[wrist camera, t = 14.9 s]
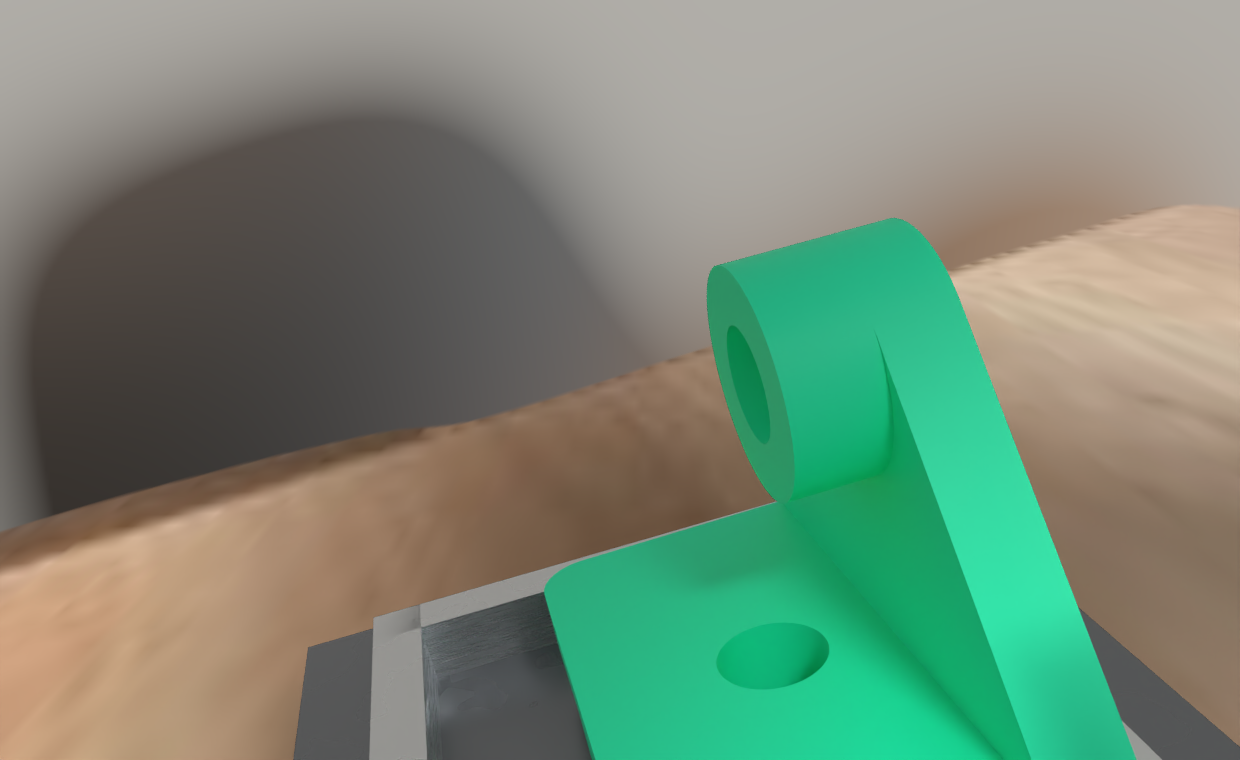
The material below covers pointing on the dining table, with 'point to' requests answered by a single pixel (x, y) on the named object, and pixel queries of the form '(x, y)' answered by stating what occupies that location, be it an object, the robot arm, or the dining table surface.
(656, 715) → the camera mount
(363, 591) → the dining table surface
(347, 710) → the plate
